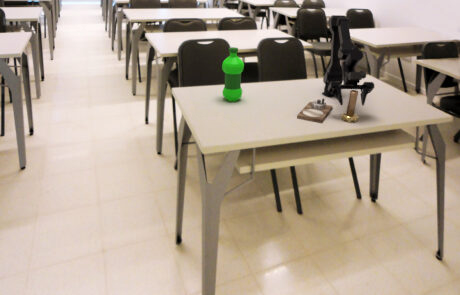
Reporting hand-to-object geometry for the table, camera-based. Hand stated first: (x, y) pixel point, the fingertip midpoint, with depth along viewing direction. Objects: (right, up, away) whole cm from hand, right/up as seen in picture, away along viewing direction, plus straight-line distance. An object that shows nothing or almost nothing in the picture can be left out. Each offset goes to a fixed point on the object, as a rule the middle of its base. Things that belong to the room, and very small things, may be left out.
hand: (352, 105), depth 159 cm
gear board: (-14, -3, +10) cm, 17 cm away
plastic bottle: (-51, +5, +24) cm, 57 cm away
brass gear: (0, -6, +4) cm, 7 cm away
